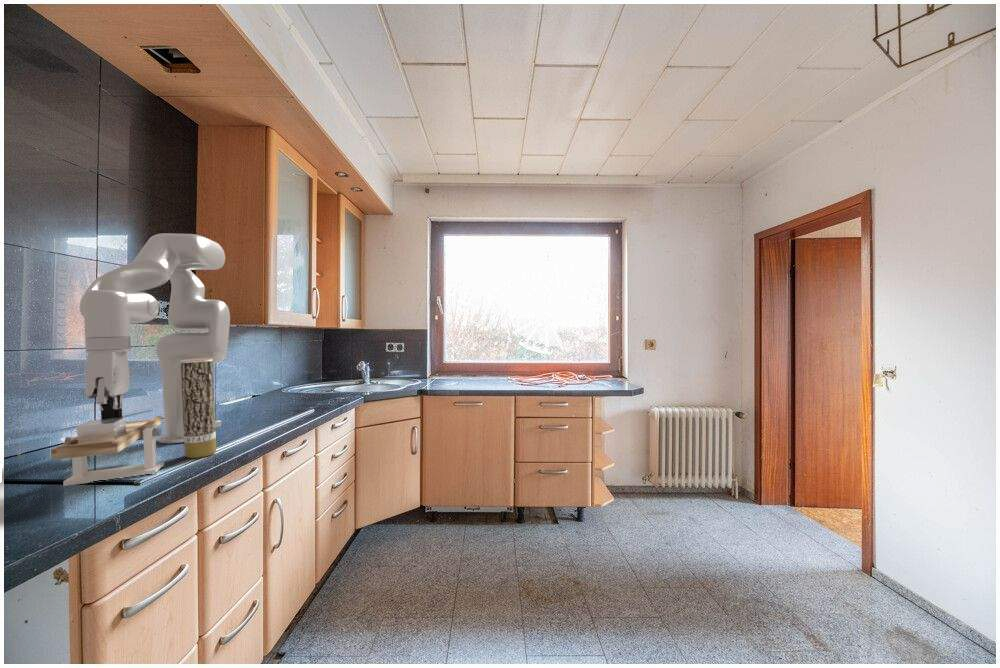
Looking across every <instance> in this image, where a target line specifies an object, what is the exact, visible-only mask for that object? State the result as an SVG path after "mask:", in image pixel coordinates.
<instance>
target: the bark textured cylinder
mask: <svg viewBox="0 0 1000 668" xmlns="http://www.w3.org/2000/svg"><path fill="white" fill-rule="evenodd" d="M214 381H215V380H214V364H213V360H212V358H203V359H187V360H181V382H182V405H183V428H184V442H183V445H184V457H186V458H187V459H201V458H205V457H210V456H212V455H214V454H215V453H216V452H217V432H216V431H217V430H216V427H215V421H216V409H215V408H216V407H215V385H214Z"/></svg>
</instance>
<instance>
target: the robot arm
mask: <svg viewBox="0 0 1000 668" xmlns="http://www.w3.org/2000/svg"><path fill="white" fill-rule="evenodd" d="M225 262H226V254H225V250H224V249H223V247H222V246H221V245H220V244H219V242H216V241H214V240H212V239H210V238H207V237H205V236H203V235H200V234H194V233H166V232H165V233H157V234H154V235H152V236H151V237H149V238H148V240H147V242H146V243H145V244H144V245H143V246H142V247H141V249H140V251H139V252H138V254H137V255H136V256H135V258H134V259H133V261H132V262H129V263H127V264H123V265H122V266H119V267H117V268H115V269H112V270H111V271H108V272H106V273H104V274H102V275H101V276H98V277H97V278H96V279H95V280H93V281H92V283H91V284H90V285H89V286H88V288H87V289H86V290H85V292H84V293H83V295H82V296H81V299H80V302H79V312H80V314H81V316H82V317H83V322H84V324H83V325H84V344H85V347H84V348H85V354H87V356H86V362H85V383H84V385H85V386H84V387H85V388H84V389H85V390H84V391H85V397H86V398H87V399H90V400H91V399H93V398H96V404H97V405H99V411H100V419H112V418H123V398H124V396H125V395H124V394H125V393H127V392H128V391H130V386H131V383H130V382H131V380H130V366H129V357H128V352H132V351H131V350H132V349H131V348H132V346H131V326H130V325H131V324H141V323H147V322H151V321H153V320H154V319H156V317H157V316H158V314H159V312H160V306H159V302H158V300H157V298H155V297H154V296H153V295H152V294H150V293H147V292H143V291H147V290H152V289H153V288H158V287H160V286H163V285H164V284H166V283H168V281H170V285H171V290H170V298H169V305H168V312H167V313H168V314H167V320H168V321H167V322H168V325H169V327H171V328H172V329H174V330H177V331H208V332H178V333H177V332H176V333H170V334H169V333H168V334H166V335H163V336H162V337H160V338H159V339H158V341H157V343H156V347H155V349H156V355H157V357H158V362H159V366H160V370H161V371H160V372H161V382H162V383H161V384H162V399H163V400H162V402H163V403H162V404H163V427H164V434H161V435H160V436H158V438H157V441H158V443H159V444H180V443H181V444H182V443H184V428H183V405H182V382H181V360H187V359H203V358H212V360H213V365H214V364H219V363H222V362H223V361H224V360H225V359H226V357H227V354H228V347H229V336H230V324H231V322H230V321H231V314H230V308H229V307H228V304H227V303H226V302H224V301H223V300H220V299H205V295H206V294H205V293H206V287H205V285H204V283H203V282H202V280H201V279H200V278H199V277H198V276H197V275H196V274H195V273H194V272H192V270H194V271H197V270H201V271H202V270H203V271H204V270H205V271H208V270H209V271H210V270H211V271H214V270H216V271H217V270H219V269H221V268H223V266H224V265H225ZM221 426H222V420H221V419H217V420H215V428H216V427H217V428H218V427H221Z"/></svg>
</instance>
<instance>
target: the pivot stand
mask: <svg viewBox="0 0 1000 668" xmlns="http://www.w3.org/2000/svg"><path fill="white" fill-rule="evenodd" d="M160 436H162V428H161V427H151V428H146V429H144V430H143V440H142V441H143V459H144V464H138V465H137V464H136V465H129V466H121V467H113V468H103V469H97V470H88V456H84V457H75V458H71V463H72V464H71V465H72V475H71V476H70V477H68V478H67V479H65V480H63V487H67V486H77V485H80V484H88V483H90V482H91V483H94V482H93V481H98V480H106V479H113V478H120V477H127V476H135V475H144V474H150V473H155V472H157V471H158V470H159V469H160V468H161V467H163V466H164V467H165V461H161V462H160V461H159V462H157V460H158V459H157V444H156V443H157V441H156V440H157V439H156V437H160ZM76 437H77V434H75V435H73V436H66V437H65V439H64V443H66V442H68V441H70V440H72V439H74V438H76ZM164 467H163V468H164ZM159 471H160V470H159ZM159 471H158V472H159ZM158 472H157V473H158ZM144 476H145V475H144ZM106 481H107V480H106ZM98 482H99V481H98ZM91 483H90V484H91Z"/></svg>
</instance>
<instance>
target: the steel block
mask: <svg viewBox="0 0 1000 668" xmlns="http://www.w3.org/2000/svg"><path fill="white" fill-rule="evenodd" d="M126 420H127V419H126V417H122V418H112V419H101V418H100V419H93V420H92V419H90V420H88V421H85V422H83V423H81V424H79V425H77V426H76V435H77V439H78V444H84V443H94V442H103V441H113V440H114V442H115V441H117V440H119V439H120V438H122V437H124V436H125V435H126V422H127V421H126Z"/></svg>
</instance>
